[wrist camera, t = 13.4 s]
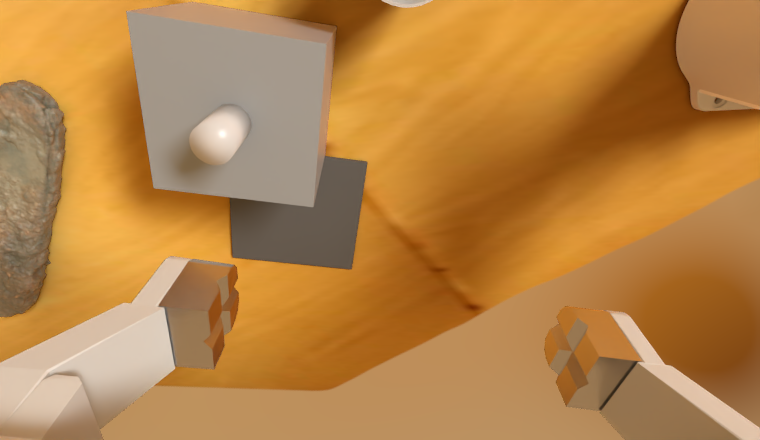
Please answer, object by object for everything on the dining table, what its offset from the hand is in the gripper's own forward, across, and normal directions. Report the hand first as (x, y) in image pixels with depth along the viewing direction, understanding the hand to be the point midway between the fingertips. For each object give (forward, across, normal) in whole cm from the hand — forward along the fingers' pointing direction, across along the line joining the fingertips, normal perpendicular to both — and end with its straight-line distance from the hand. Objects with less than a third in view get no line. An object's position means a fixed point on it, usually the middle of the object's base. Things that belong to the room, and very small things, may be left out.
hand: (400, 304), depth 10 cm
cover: (+36, +12, +5) cm, 38 cm away
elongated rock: (+35, +42, +24) cm, 60 cm away
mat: (+36, +9, +20) cm, 42 cm away
